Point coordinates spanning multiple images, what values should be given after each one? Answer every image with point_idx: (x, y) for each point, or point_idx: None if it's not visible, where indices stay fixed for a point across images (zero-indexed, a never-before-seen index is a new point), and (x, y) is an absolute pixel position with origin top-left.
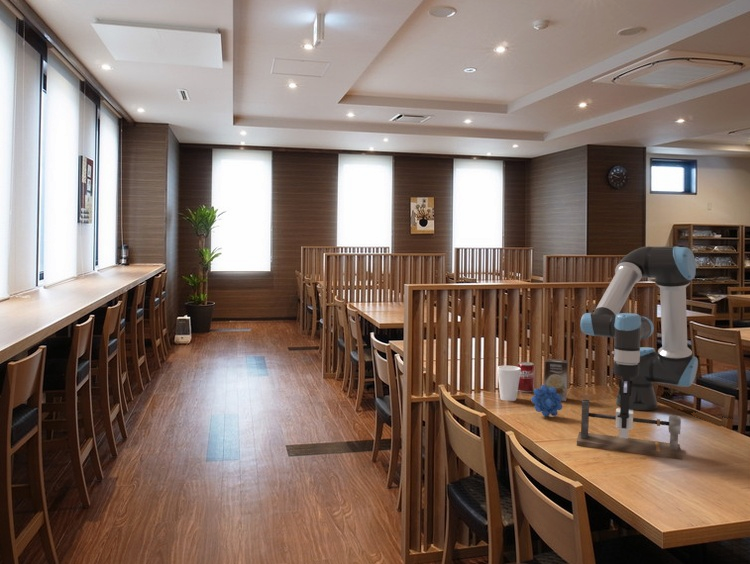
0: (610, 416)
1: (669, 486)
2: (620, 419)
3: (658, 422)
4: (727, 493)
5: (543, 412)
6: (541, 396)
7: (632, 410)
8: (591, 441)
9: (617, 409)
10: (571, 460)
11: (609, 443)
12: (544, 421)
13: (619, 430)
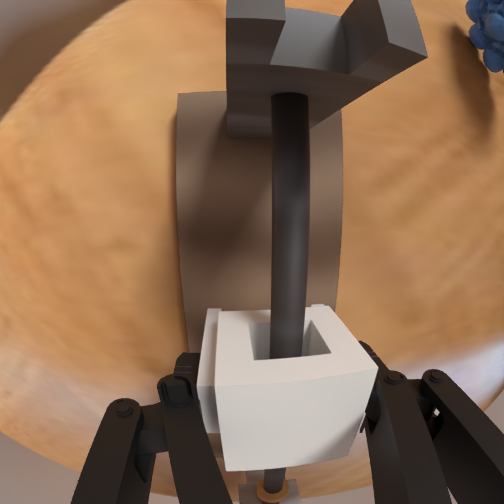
0: (276, 302)
1: (11, 383)
2: (199, 379)
3: (258, 493)
4: (60, 455)
5: (473, 27)
6: (501, 3)
7: (328, 457)
8: (195, 161)
9: (328, 386)
10: (17, 132)
11: (203, 251)
12: (432, 20)
13: (205, 329)
